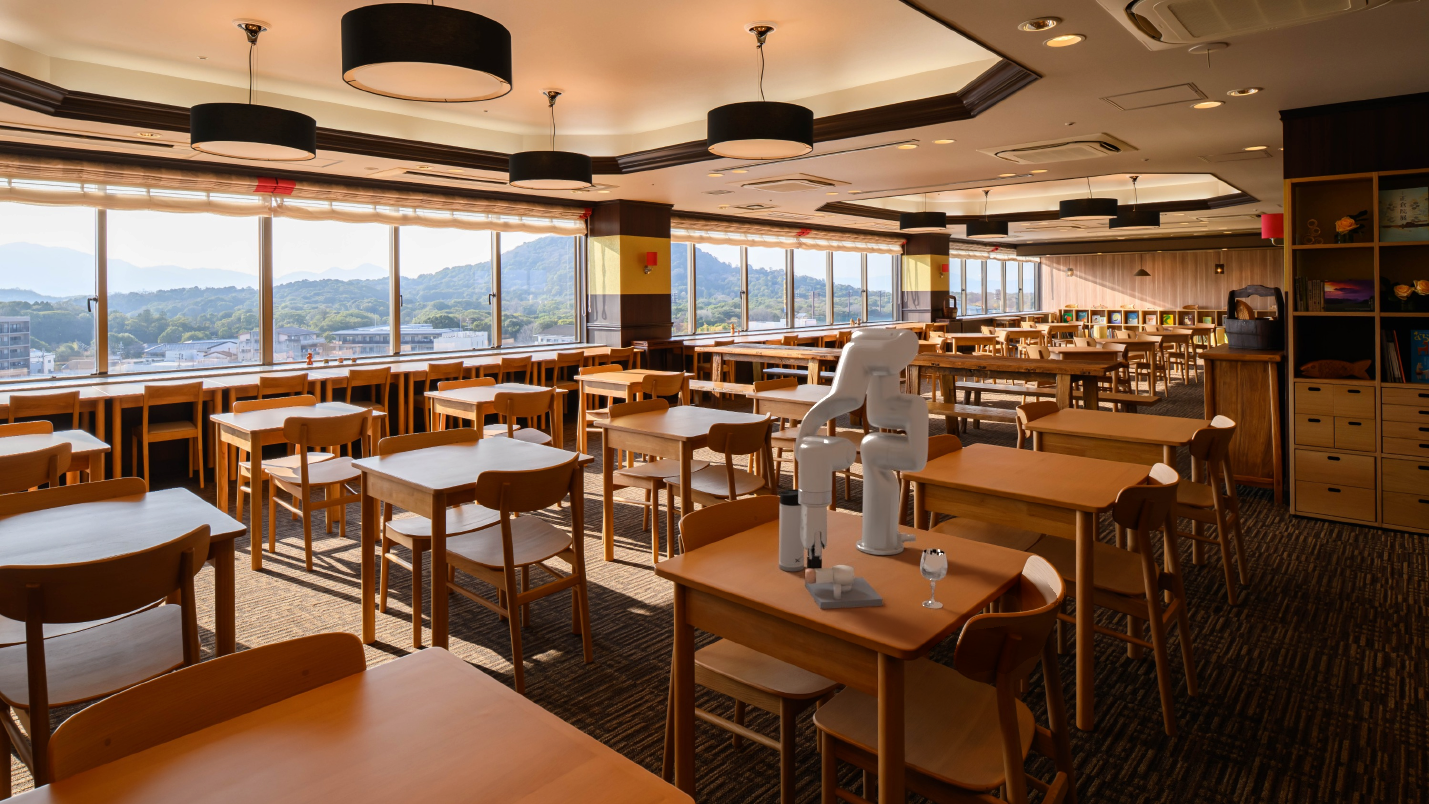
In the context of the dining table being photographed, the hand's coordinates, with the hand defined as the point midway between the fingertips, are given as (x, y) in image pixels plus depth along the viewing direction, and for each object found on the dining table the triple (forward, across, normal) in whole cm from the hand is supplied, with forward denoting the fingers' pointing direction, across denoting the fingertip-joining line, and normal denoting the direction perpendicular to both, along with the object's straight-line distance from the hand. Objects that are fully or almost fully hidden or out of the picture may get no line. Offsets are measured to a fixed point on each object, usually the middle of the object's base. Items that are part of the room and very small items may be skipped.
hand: (814, 574), depth 180 cm
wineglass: (+5, +8, +25) cm, 27 cm away
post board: (+4, +2, +6) cm, 8 cm away
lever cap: (+1, +3, +3) cm, 4 cm away
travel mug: (+5, -17, -3) cm, 18 cm away
